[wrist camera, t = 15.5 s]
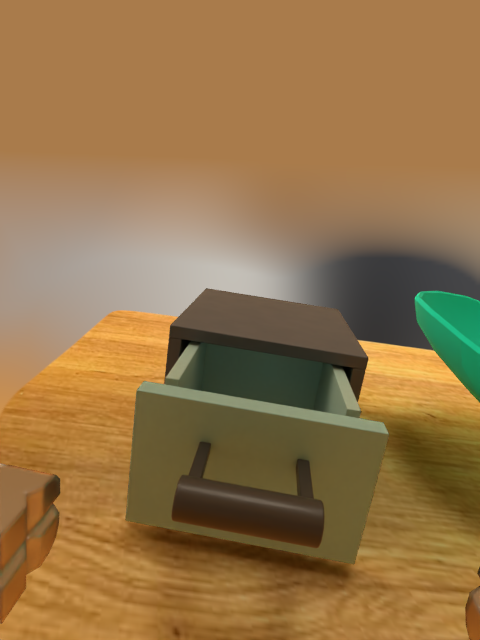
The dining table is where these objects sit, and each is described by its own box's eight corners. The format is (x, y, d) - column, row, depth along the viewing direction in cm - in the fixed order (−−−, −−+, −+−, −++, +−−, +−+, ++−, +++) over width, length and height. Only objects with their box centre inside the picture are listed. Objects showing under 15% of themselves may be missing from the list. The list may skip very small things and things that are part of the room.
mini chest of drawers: (339, 481, 30) (368, 358, 28) (157, 448, 31) (170, 325, 29) (319, 396, 45) (338, 309, 42) (195, 374, 45) (206, 288, 43)
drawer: (375, 661, 17) (424, 502, 15) (84, 602, 18) (93, 442, 16) (326, 433, 35) (345, 346, 33) (181, 408, 36) (191, 321, 34)
